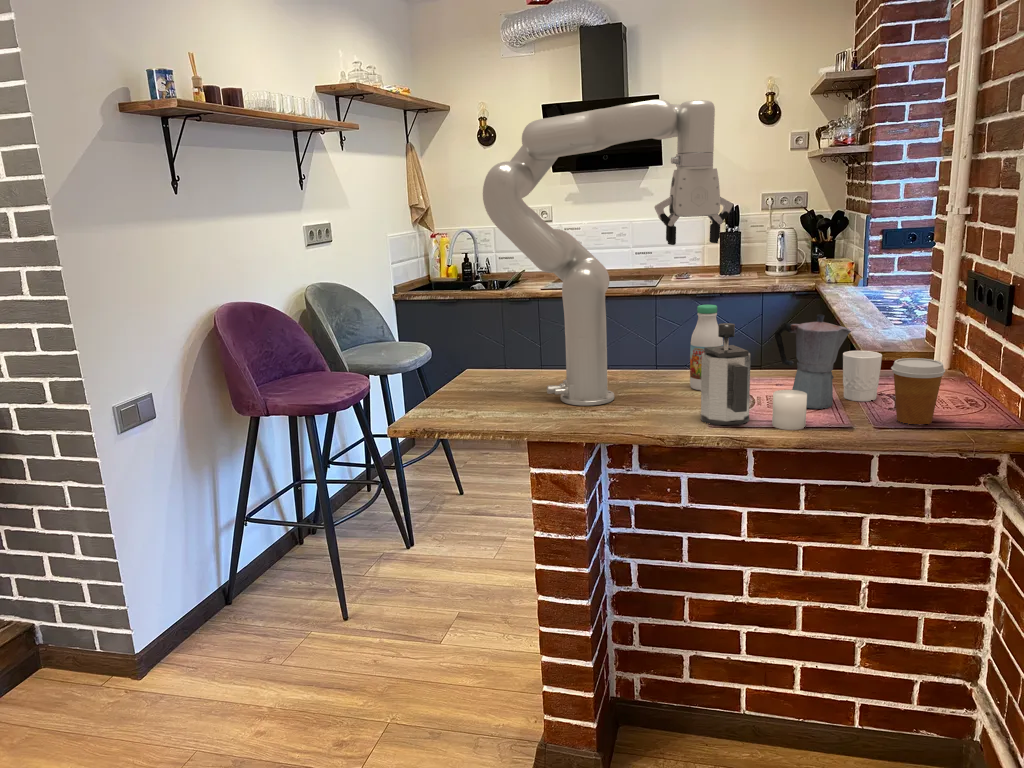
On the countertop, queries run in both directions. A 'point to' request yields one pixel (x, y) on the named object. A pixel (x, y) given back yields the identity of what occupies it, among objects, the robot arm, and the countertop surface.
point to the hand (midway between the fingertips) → (692, 243)
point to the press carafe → (725, 385)
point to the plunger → (726, 332)
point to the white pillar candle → (789, 409)
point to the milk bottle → (703, 341)
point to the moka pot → (814, 358)
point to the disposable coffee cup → (916, 389)
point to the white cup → (861, 375)
